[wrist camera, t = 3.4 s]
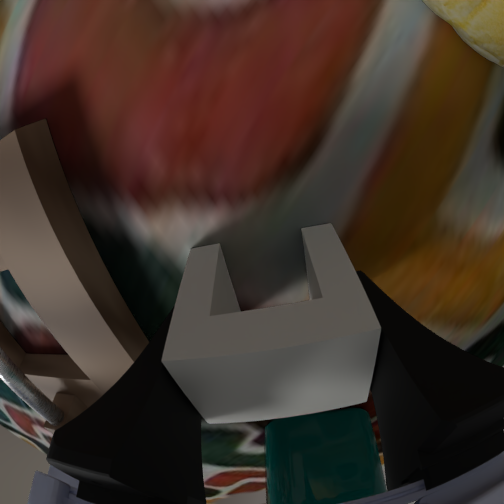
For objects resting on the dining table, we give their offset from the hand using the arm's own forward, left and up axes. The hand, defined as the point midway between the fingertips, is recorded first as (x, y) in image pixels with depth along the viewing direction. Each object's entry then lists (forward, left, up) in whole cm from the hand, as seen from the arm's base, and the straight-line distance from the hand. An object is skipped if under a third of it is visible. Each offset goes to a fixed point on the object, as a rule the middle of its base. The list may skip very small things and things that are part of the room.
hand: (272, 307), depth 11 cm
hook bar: (0, +15, +1) cm, 15 cm away
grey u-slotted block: (0, 0, -2) cm, 2 cm away
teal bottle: (-18, -1, -2) cm, 18 cm away
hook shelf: (0, +15, -2) cm, 15 cm away
